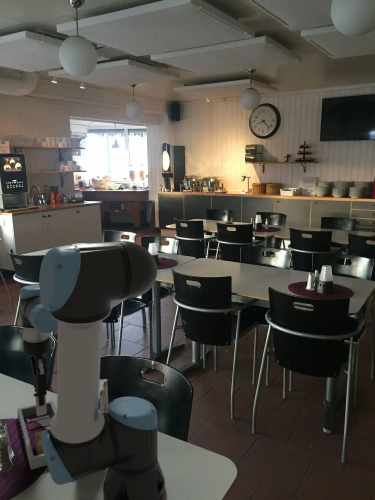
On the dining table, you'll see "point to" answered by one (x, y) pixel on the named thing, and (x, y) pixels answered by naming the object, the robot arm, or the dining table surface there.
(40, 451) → the oak block
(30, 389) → the dining table surface
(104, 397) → the candy bar box
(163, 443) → the dining table surface
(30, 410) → the channel
